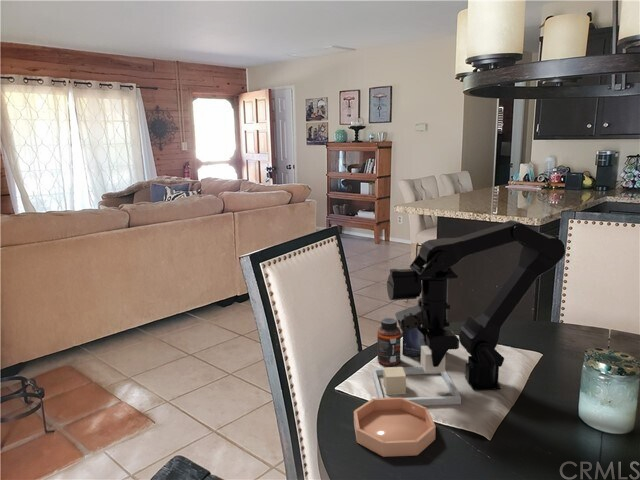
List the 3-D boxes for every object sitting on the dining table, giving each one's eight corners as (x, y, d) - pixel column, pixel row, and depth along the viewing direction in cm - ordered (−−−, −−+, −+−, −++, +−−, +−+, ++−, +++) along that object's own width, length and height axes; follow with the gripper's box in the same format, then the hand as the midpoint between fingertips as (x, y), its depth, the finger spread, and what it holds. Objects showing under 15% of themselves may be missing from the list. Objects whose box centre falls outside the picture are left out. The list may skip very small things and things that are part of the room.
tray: (442, 371, 118) (442, 366, 117) (460, 403, 103) (461, 397, 103) (372, 374, 117) (371, 368, 117) (380, 407, 103) (380, 400, 103)
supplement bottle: (400, 367, 121) (400, 325, 118) (376, 365, 122) (376, 324, 119) (400, 356, 126) (401, 316, 124) (378, 355, 128) (378, 315, 125)
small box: (401, 355, 127) (401, 318, 125) (406, 345, 133) (406, 310, 131) (441, 361, 123) (442, 323, 121) (445, 350, 129) (446, 314, 127)
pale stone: (439, 362, 112) (440, 345, 111) (444, 372, 107) (445, 353, 106) (420, 363, 112) (420, 345, 111) (425, 372, 107) (425, 354, 106)
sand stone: (402, 384, 113) (402, 366, 112) (405, 394, 108) (406, 376, 107) (383, 384, 113) (383, 367, 112) (386, 395, 108) (386, 376, 107)
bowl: (422, 408, 102) (422, 396, 102) (441, 454, 87) (442, 441, 87) (351, 411, 102) (351, 399, 102) (359, 457, 87) (358, 444, 87)
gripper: (391, 285, 115) (391, 345, 118) (406, 313, 97) (405, 383, 100) (437, 284, 115) (435, 343, 118) (461, 311, 97) (458, 381, 100)
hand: (432, 361), depth 109 cm, fingers closed on pale stone, 4 cm apart
